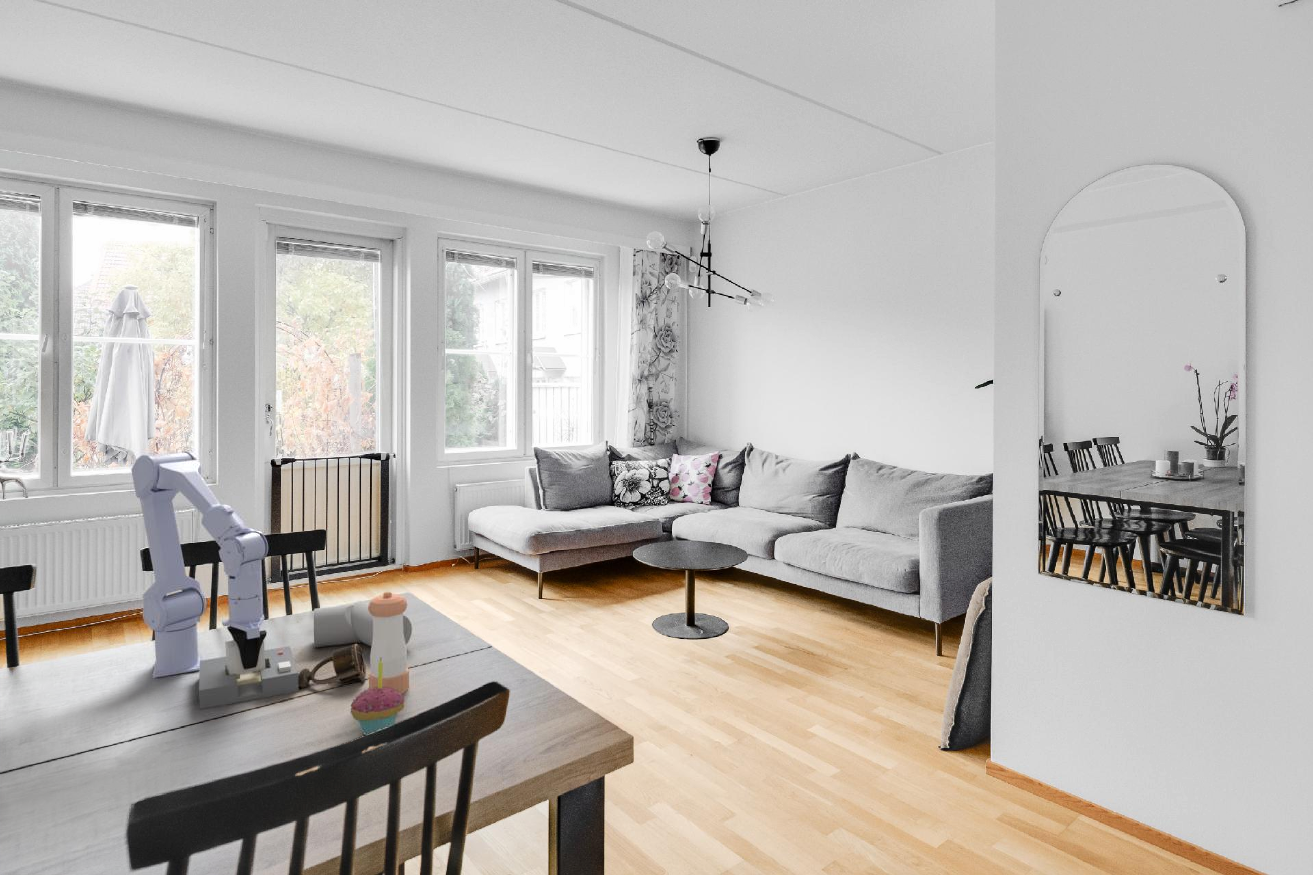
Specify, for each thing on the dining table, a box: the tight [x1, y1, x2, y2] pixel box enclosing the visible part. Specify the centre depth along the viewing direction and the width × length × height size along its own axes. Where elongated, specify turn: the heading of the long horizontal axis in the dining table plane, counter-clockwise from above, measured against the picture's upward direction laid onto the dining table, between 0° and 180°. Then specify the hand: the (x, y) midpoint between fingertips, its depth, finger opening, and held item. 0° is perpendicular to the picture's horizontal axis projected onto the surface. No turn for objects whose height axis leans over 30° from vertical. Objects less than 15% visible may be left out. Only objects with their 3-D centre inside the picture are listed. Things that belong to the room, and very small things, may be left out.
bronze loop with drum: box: [298, 643, 367, 689], centre depth 145 cm, size 7×13×10 cm
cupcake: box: [350, 657, 405, 736], centre depth 125 cm, size 9×8×12 cm
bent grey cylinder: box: [313, 600, 413, 648], centre depth 164 cm, size 18×11×20 cm
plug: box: [224, 639, 266, 680], centre depth 142 cm, size 4×6×6 cm, turn 128°
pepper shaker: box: [368, 590, 410, 694], centre depth 140 cm, size 7×7×19 cm
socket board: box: [198, 645, 299, 710], centre depth 143 cm, size 16×16×4 cm
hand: (247, 664), depth 143 cm, fingers closed on plug, 4 cm apart
